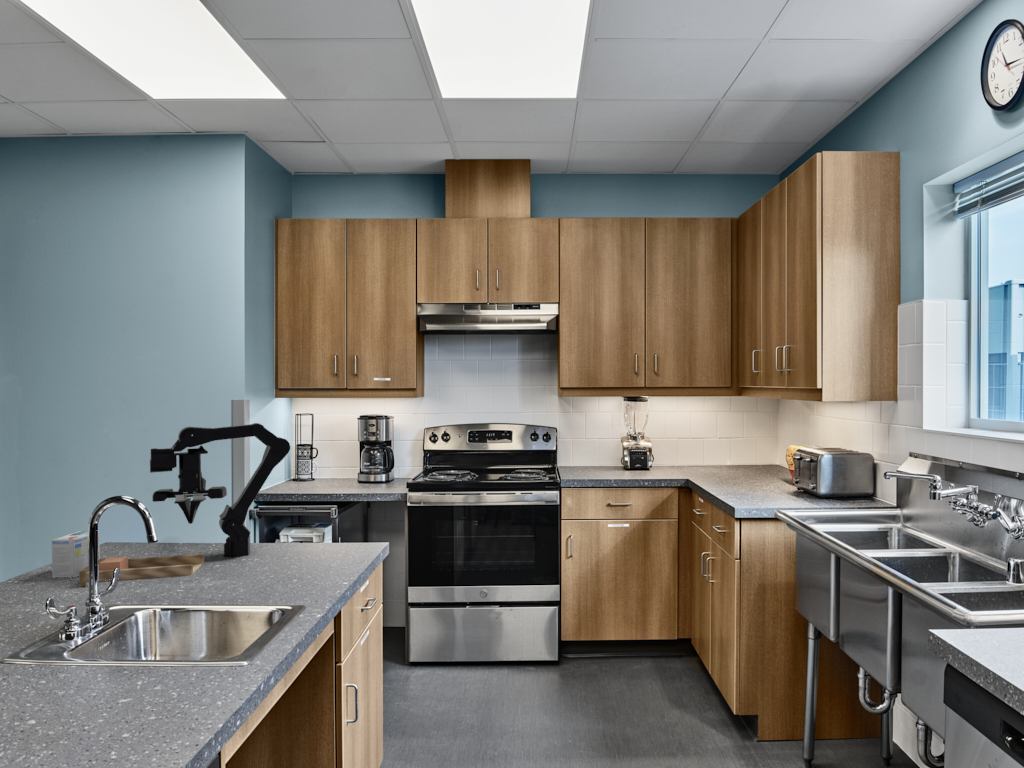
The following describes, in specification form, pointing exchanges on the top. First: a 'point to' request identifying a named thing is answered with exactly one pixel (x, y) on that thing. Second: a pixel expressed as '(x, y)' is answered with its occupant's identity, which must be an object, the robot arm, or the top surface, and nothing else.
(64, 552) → the light bulb box
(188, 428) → the robot arm
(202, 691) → the top surface
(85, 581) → the frame
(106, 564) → the terracotta block
